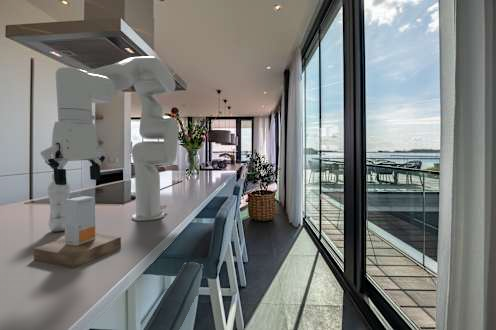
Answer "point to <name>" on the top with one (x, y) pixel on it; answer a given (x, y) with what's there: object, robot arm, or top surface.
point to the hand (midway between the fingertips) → (79, 182)
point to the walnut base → (76, 251)
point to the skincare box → (79, 220)
